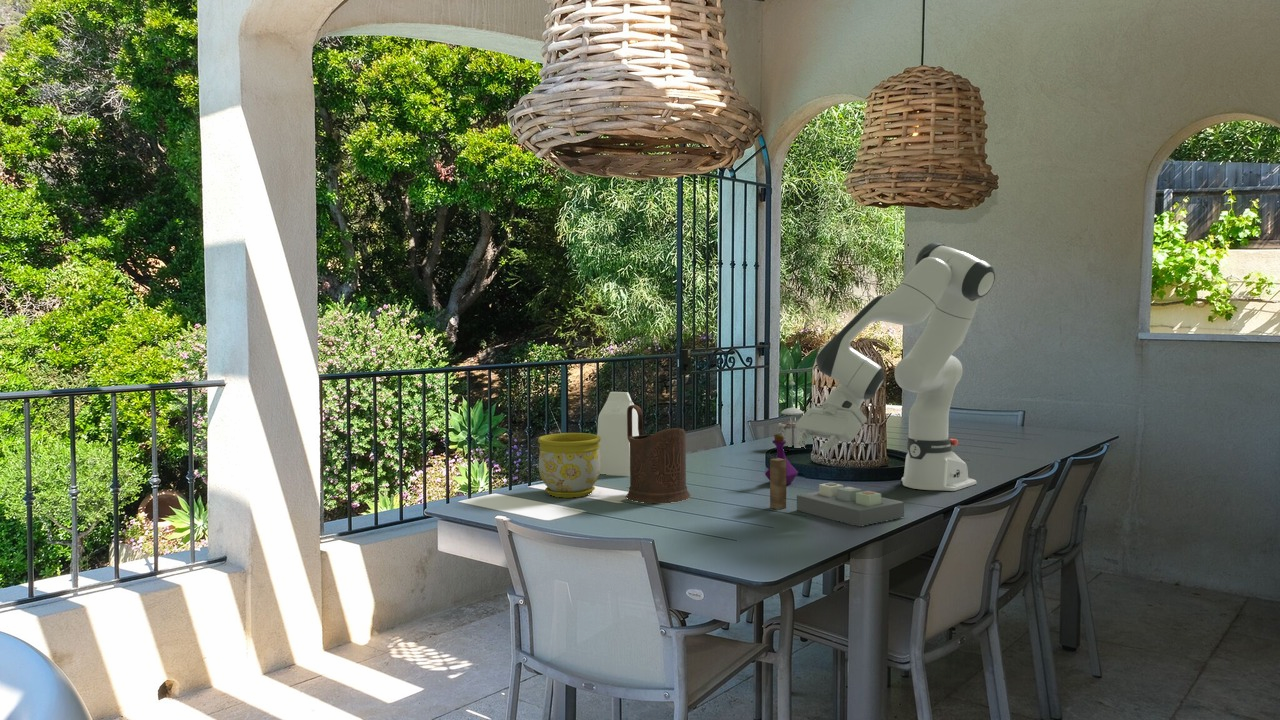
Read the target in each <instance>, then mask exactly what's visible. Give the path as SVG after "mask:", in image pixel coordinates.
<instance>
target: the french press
mask: <svg viewBox="0 0 1280 720" xmlns="http://www.w3.org/2000/svg"><path fill="white" fill-rule="evenodd" d="M789 385H790V386H791V407H789V408H788V407H787V408H785V409H783V410H781V411H780V413H781V415H787V416H789V415H790V416H791V417H790V419H789V420H790V421H783V422H781V424H785V425H787V429H786V430H784V429H782V430H781V431H780V432H781V434H780V435H782V436H784V440H785V441H786V443H785V444H784V446H788V447H792V445H794V448H801V446H799V445H798V444H797V442H798V441H799V439H800V435H801V432H800V431H799V430H798V429H797V428H796V423H797V422H798V421H797V419H796V416H795V415H803V414H804V412H803V410H801V409H799V408H796V407H793V403H794V401H793V393H794V392H793V390H794V389H793V386H794V385H796V382H795V381H790V382H789ZM793 415H794V416H795V417H794V419H793Z"/></svg>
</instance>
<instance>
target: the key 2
mask: <svg viewBox="0 0 1280 720" xmlns="http://www.w3.org/2000/svg"><path fill="white" fill-rule="evenodd" d="M881 497H882V493H879V492H875V491H871V490H863V491H862V492H858V493H856V503H857V504H861V505H865V506H874V505H879V504H881Z"/></svg>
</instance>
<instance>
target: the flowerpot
mask: <svg viewBox="0 0 1280 720" xmlns="http://www.w3.org/2000/svg"><path fill="white" fill-rule="evenodd" d="M600 440H601V438H600V436H598V435H597V434H594V433H588V432H587V433H586V432H585V433H584V432H562V433H561V432H560V433H553V434H546V435H541V436H539V437H538V438H537V442H538V444H539V456H538V471H539V474H540V478H541V480H542V482H543V483H544V485H545V486H546V487H545V491H546V492H547V493H548V495H549V496H550V495H552V496H551V497H553V496H555V498H559V497H563V499H574V498H573V497H576V498H582V497H581V496H583V497H586V496H585V495H587V496H589V495H588V494H590V493H591V494H593V491H594V490H596V487H595V486H594V485H595V484H596V482H597V481H598V479H599V476H600V474H599V473H600V466H601V462H600V453H599V447H600V446H599V442H600ZM591 494H590V495H591Z"/></svg>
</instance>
